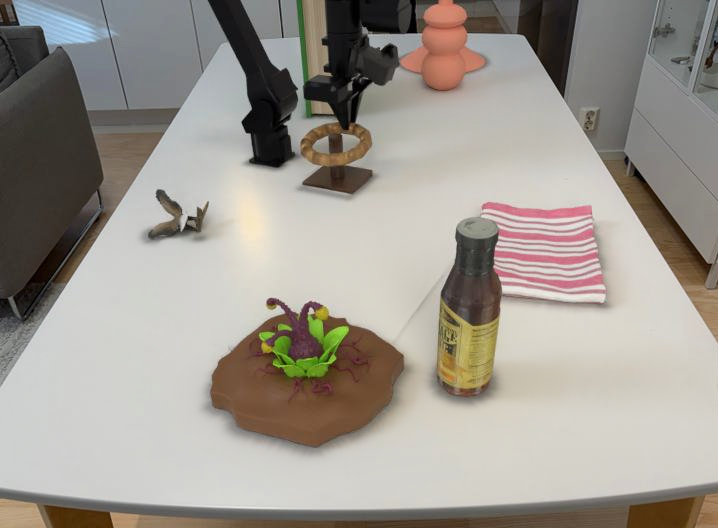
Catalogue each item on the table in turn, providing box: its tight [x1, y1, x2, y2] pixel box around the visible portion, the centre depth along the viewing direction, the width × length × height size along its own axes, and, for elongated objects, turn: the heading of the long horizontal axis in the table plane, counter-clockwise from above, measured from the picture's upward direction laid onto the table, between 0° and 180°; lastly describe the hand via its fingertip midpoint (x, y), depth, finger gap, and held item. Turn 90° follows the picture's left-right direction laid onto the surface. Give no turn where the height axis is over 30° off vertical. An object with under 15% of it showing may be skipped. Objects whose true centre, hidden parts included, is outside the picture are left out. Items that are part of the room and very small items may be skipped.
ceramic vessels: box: [399, 0, 486, 91], centre depth 161 cm, size 35×21×19 cm, turn 175°
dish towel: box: [479, 201, 607, 305], centre depth 97 cm, size 17×23×4 cm
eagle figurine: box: [147, 188, 210, 239], centre depth 105 cm, size 8×7×9 cm
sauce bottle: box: [436, 216, 503, 397], centre depth 71 cm, size 6×6×20 cm
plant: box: [209, 297, 405, 448], centre depth 75 cm, size 20×20×11 cm
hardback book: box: [295, 0, 335, 119], centre depth 143 cm, size 18×7×24 cm, turn 170°
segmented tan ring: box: [299, 121, 373, 167], centre depth 115 cm, size 12×12×2 cm
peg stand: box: [301, 133, 374, 195], centre depth 117 cm, size 9×9×8 cm
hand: (348, 127), depth 118 cm, fingers closed on segmented tan ring, 2 cm apart
